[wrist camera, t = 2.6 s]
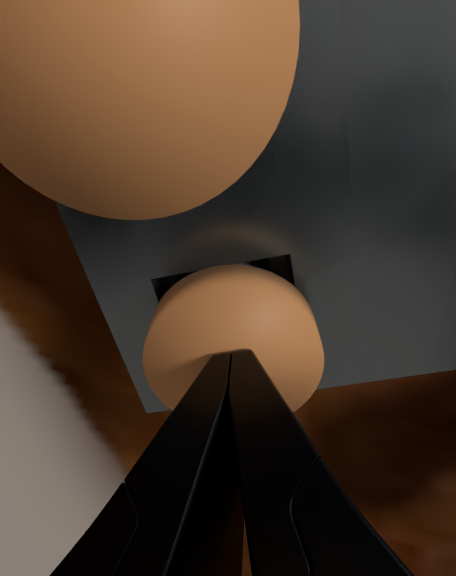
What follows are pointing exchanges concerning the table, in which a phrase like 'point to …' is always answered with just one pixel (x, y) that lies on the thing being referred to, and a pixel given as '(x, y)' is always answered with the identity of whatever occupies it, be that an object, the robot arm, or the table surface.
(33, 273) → the table surface
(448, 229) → the grey slotted base
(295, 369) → the plunger
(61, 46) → the plunger
